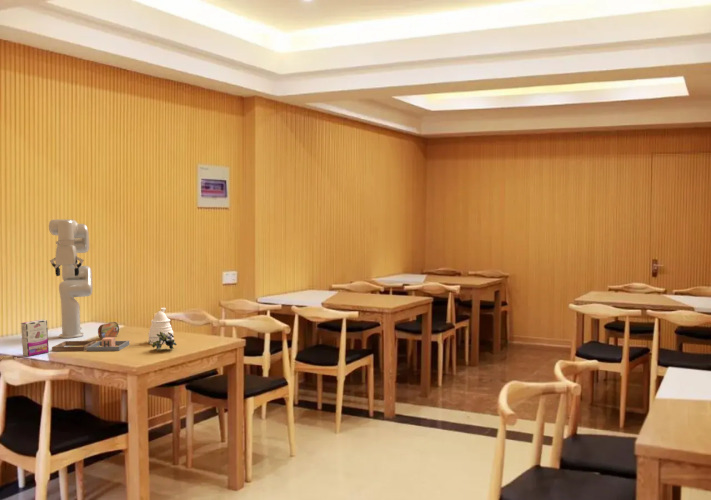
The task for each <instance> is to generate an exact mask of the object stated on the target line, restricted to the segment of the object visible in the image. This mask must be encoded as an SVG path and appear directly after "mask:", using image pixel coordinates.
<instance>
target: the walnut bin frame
mask: <svg viewBox="0 0 711 500" xmlns="http://www.w3.org/2000/svg"><path fill="white" fill-rule="evenodd" d="M96 342H97V341H96V340H64V341H63V342H60V343H58V344H55V345H54V346H52V347H51V352H81V351H82V352H84V351H87V347H88V346H90V345H92V344H94V343H96Z"/></svg>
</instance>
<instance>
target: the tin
mask: <svg viewBox="0 0 711 500" xmlns="http://www.w3.org/2000/svg"><path fill="white" fill-rule="evenodd" d="M119 332H120V326H119V324H118V322H117V321H116V322H115V321H110V322H107V323H104V324H103V323H102V324H100V325H99V326H98V329H97V334H98V337H99V339H100V340H102V339H103V338H105V337H115V338H116V337H117V336H118V335H119Z"/></svg>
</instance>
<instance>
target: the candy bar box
mask: <svg viewBox="0 0 711 500" xmlns="http://www.w3.org/2000/svg"><path fill="white" fill-rule="evenodd" d="M20 324H21V325H20V327H21V328H20V329H21V343H22V345H21V346H22V356H23V357H34V356H39V355H43V354H47V353H48V354H49V352H50V351H49V333H48V332H49V331H48V330H49V329H48V328H49V327H48V320H47V319H37V320H32V321H26V322H24V321H23V322H21V323H20Z"/></svg>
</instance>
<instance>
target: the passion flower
mask: <svg viewBox="0 0 711 500" xmlns="http://www.w3.org/2000/svg"><path fill="white" fill-rule="evenodd" d="M168 334H169V335H170V336H172V337H175V335H174V334H173V335H172V334H171V333H170V332H168ZM157 336H158V337H159V341H156V342H153V344H150V342H152V341H151V340H149V339H148V345H151V347H152V348H153V349H155V347H156V350H157V351H156V352H157V353H158V352H159V350H160V349H161V348H162V346H163V345H164V344H163V343H164V342H165V343H166V344H165V345H166V346H167V347H168V348H169V349H170V350H173V349H175V348H174V346H177V343H176V342H175V339H172V337H170V336H168V335H166V334H165V333H162V332H160V335H159V334H157ZM161 341H163V343H162V344H160V343H161Z"/></svg>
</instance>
